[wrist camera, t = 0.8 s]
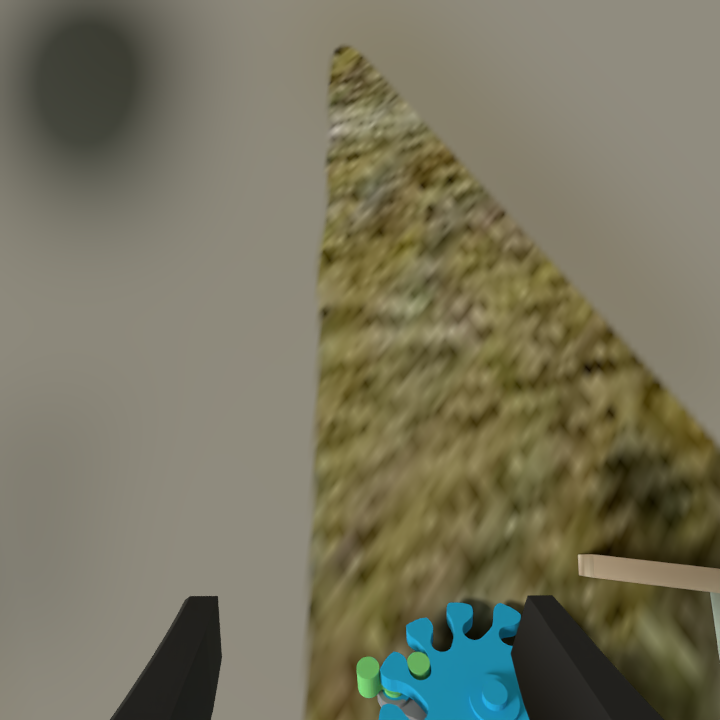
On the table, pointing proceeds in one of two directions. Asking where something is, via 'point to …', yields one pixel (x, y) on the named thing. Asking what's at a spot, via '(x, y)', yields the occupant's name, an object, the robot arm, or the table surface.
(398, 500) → the table surface
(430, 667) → the gear
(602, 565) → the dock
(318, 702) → the table surface
